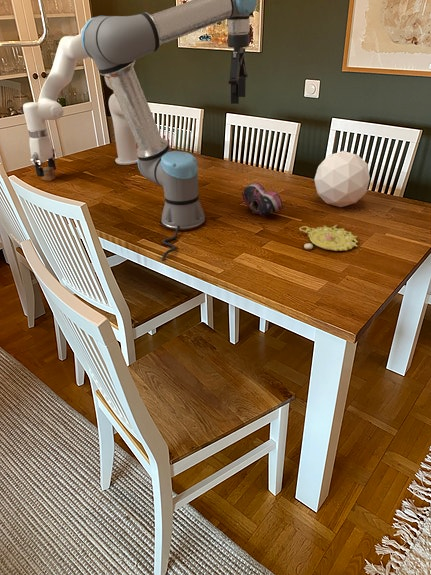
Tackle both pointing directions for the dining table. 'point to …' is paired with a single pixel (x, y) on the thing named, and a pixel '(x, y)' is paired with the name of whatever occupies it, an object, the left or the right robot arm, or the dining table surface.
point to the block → (48, 174)
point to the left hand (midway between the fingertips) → (47, 173)
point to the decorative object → (330, 238)
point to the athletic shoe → (261, 200)
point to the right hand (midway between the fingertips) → (238, 100)
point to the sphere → (342, 179)
